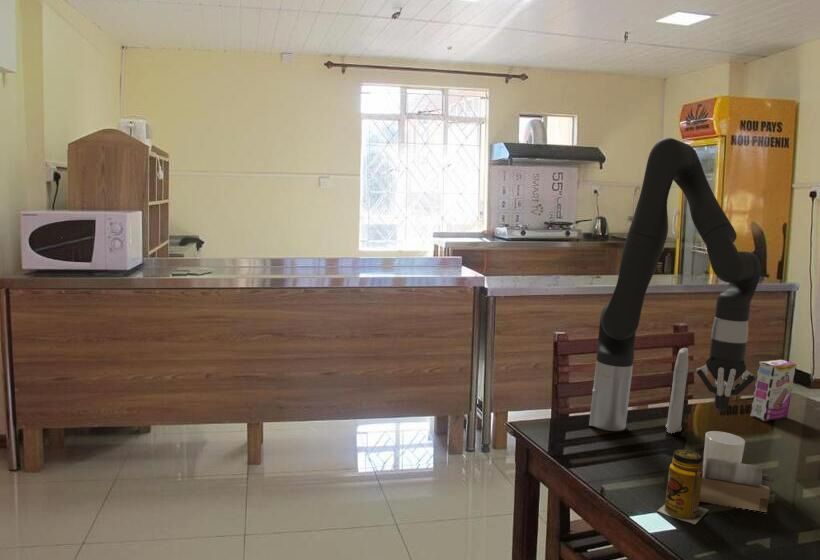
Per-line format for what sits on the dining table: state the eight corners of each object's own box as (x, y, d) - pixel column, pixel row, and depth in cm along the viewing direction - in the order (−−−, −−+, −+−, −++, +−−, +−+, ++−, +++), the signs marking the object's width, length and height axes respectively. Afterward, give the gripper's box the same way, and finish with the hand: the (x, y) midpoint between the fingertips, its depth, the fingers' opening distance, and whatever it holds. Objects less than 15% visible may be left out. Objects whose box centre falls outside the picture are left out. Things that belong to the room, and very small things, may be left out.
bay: (683, 468, 156) (688, 430, 155) (752, 480, 152) (758, 441, 151) (691, 502, 139) (697, 459, 138) (770, 516, 135) (776, 473, 134)
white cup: (738, 479, 152) (744, 436, 151) (739, 492, 145) (745, 447, 144) (700, 470, 156) (706, 428, 154) (698, 483, 148) (704, 439, 147)
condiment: (656, 511, 134) (663, 453, 132) (671, 498, 140) (679, 442, 138) (694, 525, 129) (703, 465, 127) (708, 511, 135) (716, 453, 134)
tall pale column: (669, 421, 188) (679, 343, 185) (685, 425, 186) (695, 346, 183) (661, 432, 179) (671, 350, 176) (677, 436, 177) (688, 353, 174)
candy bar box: (765, 422, 194) (774, 366, 192) (749, 416, 198) (757, 361, 196) (788, 417, 200) (797, 363, 197) (772, 412, 204) (780, 358, 202)
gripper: (700, 338, 156) (692, 411, 158) (764, 344, 153) (754, 419, 155) (696, 331, 163) (688, 402, 166) (757, 337, 160) (748, 409, 162)
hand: (720, 410), depth 160 cm, fingers closed
